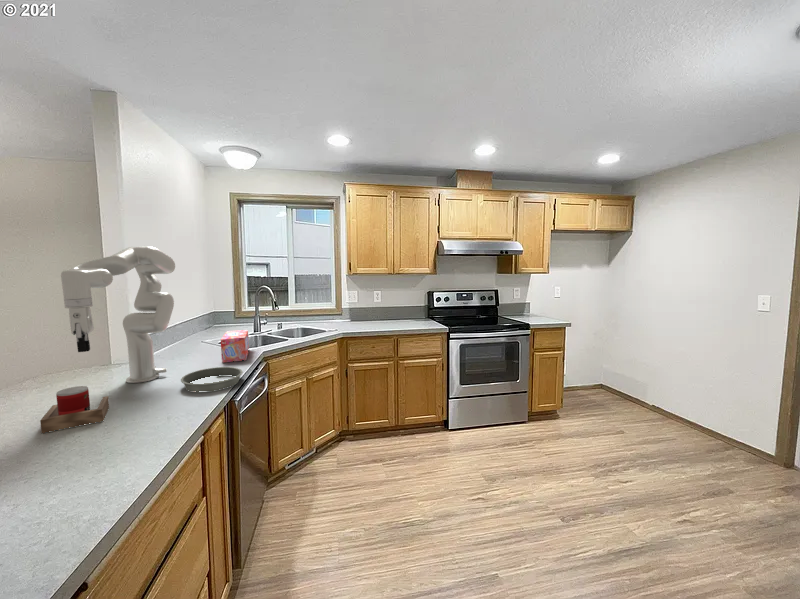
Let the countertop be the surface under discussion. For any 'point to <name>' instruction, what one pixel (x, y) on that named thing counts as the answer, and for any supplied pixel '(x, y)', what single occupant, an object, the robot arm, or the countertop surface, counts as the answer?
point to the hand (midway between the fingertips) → (84, 351)
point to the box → (234, 346)
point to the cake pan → (208, 373)
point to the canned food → (73, 400)
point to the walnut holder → (73, 417)
